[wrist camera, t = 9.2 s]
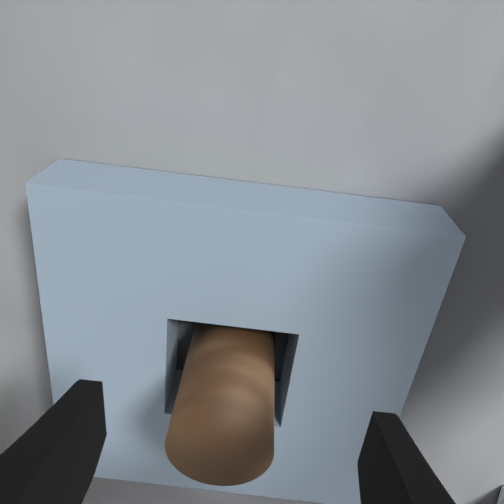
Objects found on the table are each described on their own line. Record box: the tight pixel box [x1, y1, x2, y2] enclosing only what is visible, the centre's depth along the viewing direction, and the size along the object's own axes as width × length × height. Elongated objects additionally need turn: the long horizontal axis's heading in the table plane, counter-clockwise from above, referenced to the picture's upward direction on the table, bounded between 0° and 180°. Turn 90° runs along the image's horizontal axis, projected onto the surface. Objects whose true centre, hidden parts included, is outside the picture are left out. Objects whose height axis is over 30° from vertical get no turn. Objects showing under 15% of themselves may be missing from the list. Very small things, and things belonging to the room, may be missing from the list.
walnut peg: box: [165, 322, 275, 486], centre depth 20 cm, size 4×4×7 cm
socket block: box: [25, 159, 466, 504], centre depth 22 cm, size 16×16×3 cm
